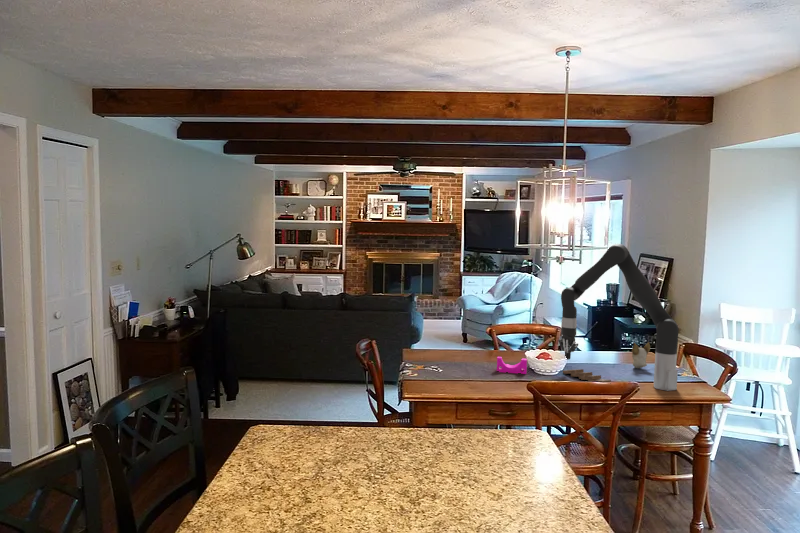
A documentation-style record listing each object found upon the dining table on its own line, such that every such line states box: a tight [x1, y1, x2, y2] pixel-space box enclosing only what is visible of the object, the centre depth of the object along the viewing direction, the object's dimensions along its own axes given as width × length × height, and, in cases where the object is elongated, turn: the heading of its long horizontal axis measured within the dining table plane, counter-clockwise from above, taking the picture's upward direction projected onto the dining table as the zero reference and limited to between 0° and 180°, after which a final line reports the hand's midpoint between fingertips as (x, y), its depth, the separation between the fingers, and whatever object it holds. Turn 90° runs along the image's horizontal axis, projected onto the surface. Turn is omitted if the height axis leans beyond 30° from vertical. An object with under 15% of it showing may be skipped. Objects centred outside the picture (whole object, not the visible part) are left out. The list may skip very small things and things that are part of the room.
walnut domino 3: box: [578, 374, 602, 381], centre depth 279 cm, size 2×5×10 cm
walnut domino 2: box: [570, 371, 593, 378], centre depth 284 cm, size 2×5×10 cm
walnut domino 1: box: [562, 368, 585, 375], centre depth 290 cm, size 2×5×10 cm
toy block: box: [496, 356, 528, 375], centre depth 295 cm, size 15×6×8 cm, turn 77°
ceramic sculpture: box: [631, 341, 651, 369], centre depth 307 cm, size 11×9×15 cm
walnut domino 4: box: [587, 378, 612, 383], centre depth 273 cm, size 2×5×10 cm
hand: (567, 359), depth 294 cm, fingers closed
